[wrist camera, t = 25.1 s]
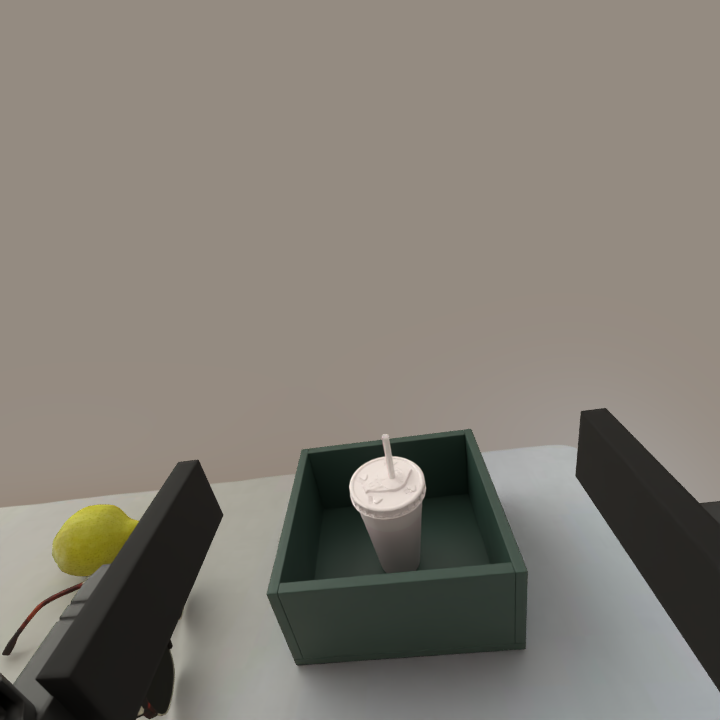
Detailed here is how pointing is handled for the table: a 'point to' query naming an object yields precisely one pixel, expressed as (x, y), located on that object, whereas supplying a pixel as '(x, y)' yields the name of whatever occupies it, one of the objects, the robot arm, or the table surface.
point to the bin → (402, 589)
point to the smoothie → (391, 508)
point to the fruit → (91, 539)
